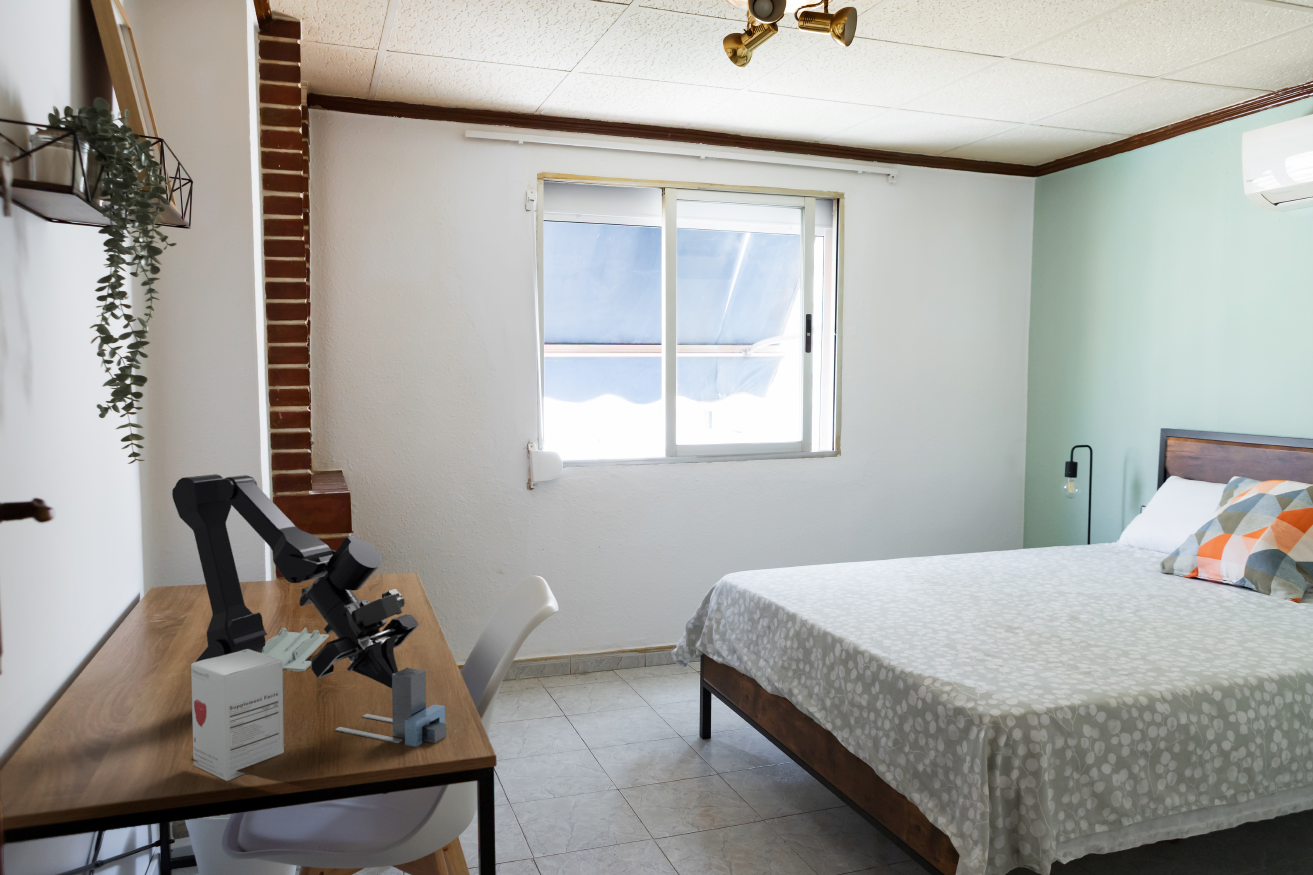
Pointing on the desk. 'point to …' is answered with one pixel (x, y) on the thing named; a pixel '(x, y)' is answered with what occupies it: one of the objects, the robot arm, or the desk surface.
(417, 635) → the desk surface
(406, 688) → the tall gray pillar
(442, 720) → the blue gray railed fixture
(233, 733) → the supplement box
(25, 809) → the desk surface
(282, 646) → the metal bracket
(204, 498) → the robot arm
